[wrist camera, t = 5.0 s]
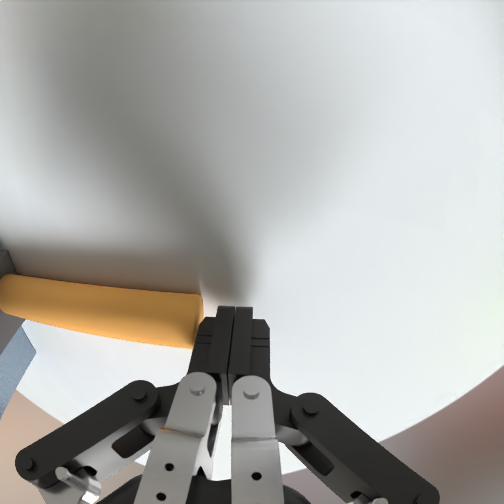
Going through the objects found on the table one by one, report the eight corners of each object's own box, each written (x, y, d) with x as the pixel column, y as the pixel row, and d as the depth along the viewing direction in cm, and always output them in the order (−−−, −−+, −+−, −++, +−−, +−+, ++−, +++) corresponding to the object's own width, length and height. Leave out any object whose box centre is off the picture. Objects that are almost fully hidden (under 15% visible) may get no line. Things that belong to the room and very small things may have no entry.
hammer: (-30, 247, 12) (-69, 284, 8) (199, 263, 12) (173, 343, 8) (-8, 299, 15) (-39, 339, 11) (206, 336, 14) (191, 412, 11)
